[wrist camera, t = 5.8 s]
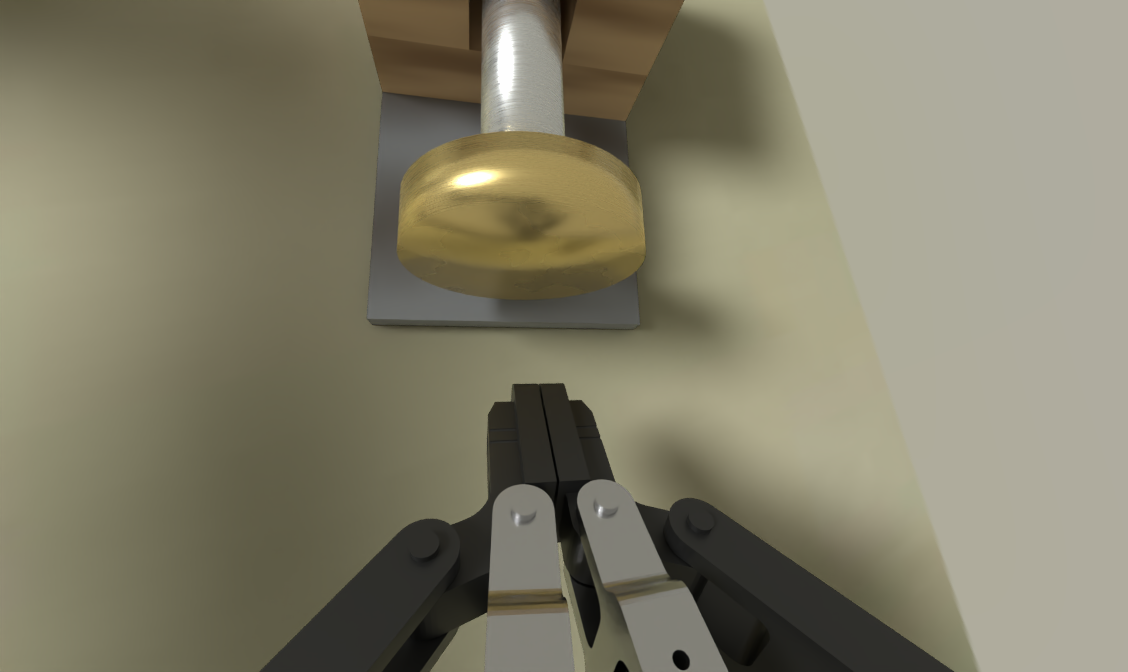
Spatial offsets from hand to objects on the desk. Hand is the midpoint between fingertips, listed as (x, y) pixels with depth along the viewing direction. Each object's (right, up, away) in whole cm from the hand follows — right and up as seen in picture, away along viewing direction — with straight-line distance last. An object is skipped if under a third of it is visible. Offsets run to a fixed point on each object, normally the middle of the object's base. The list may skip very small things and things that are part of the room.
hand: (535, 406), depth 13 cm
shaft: (-1, +12, +7) cm, 14 cm away
